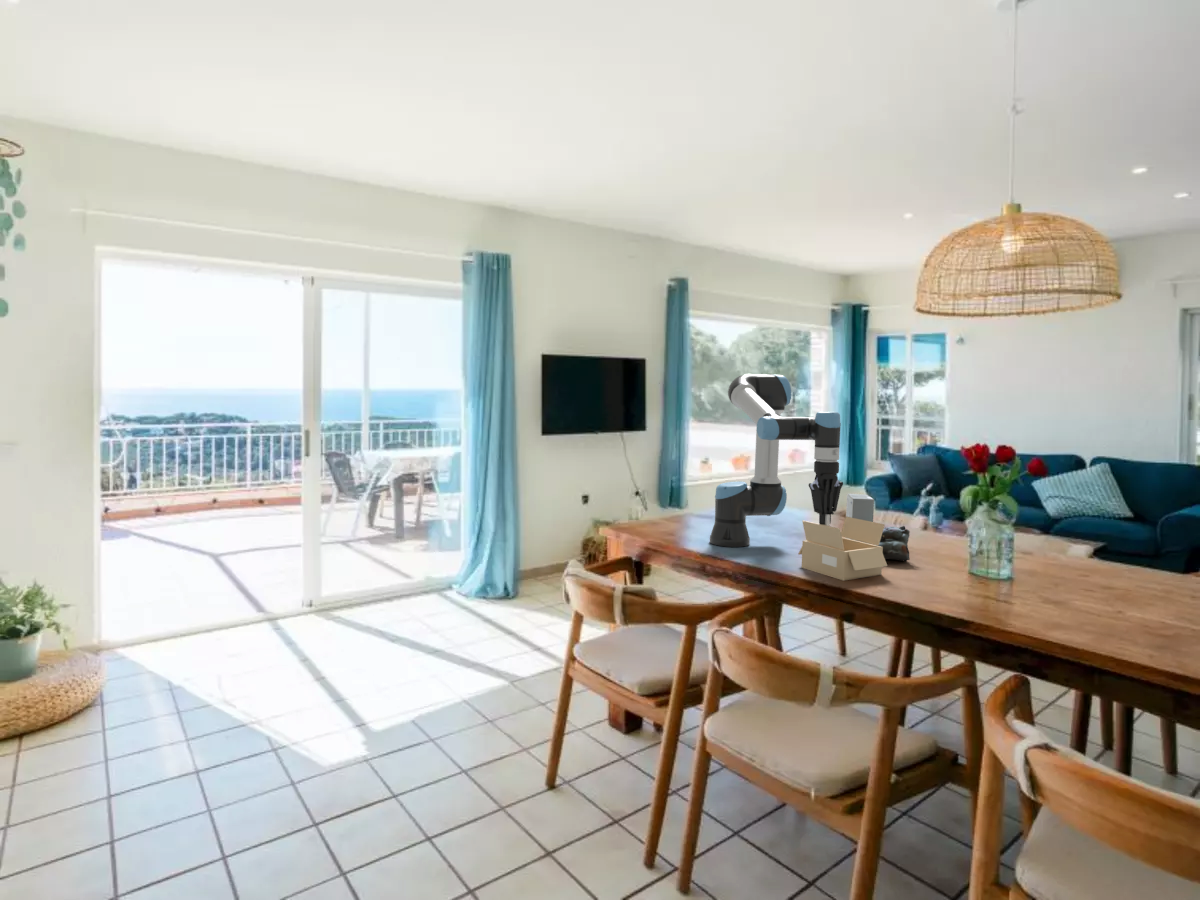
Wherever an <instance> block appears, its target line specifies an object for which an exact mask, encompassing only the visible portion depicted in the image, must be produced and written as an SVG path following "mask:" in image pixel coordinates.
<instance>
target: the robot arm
mask: <svg viewBox="0 0 1200 900" xmlns="http://www.w3.org/2000/svg"><path fill="white" fill-rule="evenodd" d="M727 395H728V399H729V401H730V403H731V404H732V405H733V406H734V407H736V408H738V409H740V410H742V411H743V412H744V414H746V415H747V416H748V417H749V418H750V420H752V422H754V423H755V425H756V429H755V431H756V432H755V433H756V434H755V454H754V455H755V456H754V457H755V458H754V476H753V477H752V478H751V479H750V480H749V481H750V482H749V483H750V484H749V485H748V483H747V482H745V481H739V480H738V481H727V482H723V483H720V484H718V485H717V486H716V489H715V496H714V498H715V499H714V500H715V507H714V508H715V509H714V525H713V526H712V530H711V533H710V535H709V543H710V544H711V545H714V546H719V547H727V548H730V547H731V548H739V547H740V548H741V547H747V546H750V544H751V540H750V534H749V531H748V528H747V524H746V523H747V516H750V517H753V516H757V517H758V516H766V517H771V516H777V515H780V514H782V512H783V511H784V509H785V507H786V504H787V497H788V495H787V490H786V487H785V486H784V485H782V481H781V479H780V478H779V476H778V473H779V472H778V471H779V470H778V469H779V453H780V452H779V451H780V450H779V447H780V441H784V440H785V441H814V454H813V455H814V456H813V458H814V460H815V461H814V463H813V466H814V467H813V471H814V472H813V473H815V477H814V481H813V482H812V483H811V482H810V483H808V487H809V490H810V494H811V500H812V506H813V512H814V513H816V514H818V515H819V516H818V518H819V519H818V522H819V523H818V524H822V525H826V526H830V525H831V522H832V515H834V514H835V512H837V510H838V509H837V508H838V505H839V504H838V503H839V499H840V496H841V495H840V494H841V489H842V487H843V485H844V482H843V481H840V480H839V479H838V478H839V477H838V475H837V474H839V473H840V462H839V460H840V444H841V442H840V440H841V426H842V424H841V423H842V422H841V414H840V413H839V412H837V411H817V412H816V413H815V416H781V414H782V413H784V412H785V408H786V406H788V405H789V404H790V403H791V399H792V388H791V383H790V381H789V379H788V378H787V377H786V376H785V375H782V374H774V373H773V374H771V373H770V374H769V373H767V374H766V373H765V374H764V373H762V374H761V373H745V374H741V375H738V376H737V377H736V378H734V379H733V380H732V381H731V382H730V384H729V387H728V390H727Z"/></svg>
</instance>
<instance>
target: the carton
mask: <svg viewBox="0 0 1200 900" xmlns="http://www.w3.org/2000/svg"><path fill="white" fill-rule="evenodd" d="M842 540H843V545H844V550H842V549H838V548H834V547H830V546H827V545H823V544H819V543H815V542H811V541H807V540H806V539H805V540H802V546H801V548H800V550H799V551H798V555H799V556H800V555H801V568H802V569H804V570H808V571H811V572H815V573H818V574H821V575H825V576H828V577H832V578H834V579H837V580H840V581H842V582H843V581H848V580H849V581H850V580H856V579H863V578H868V577H877V576H882V574H883V573H882V572H883V570H882V569H883V567H884V568H885V567H888V564H887V561H886V559H885V558H884V556H883V547H880V546H876V545H872V544H868V543H864V542H860V541H855V540H851V539H847V538H845V537H842Z"/></svg>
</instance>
